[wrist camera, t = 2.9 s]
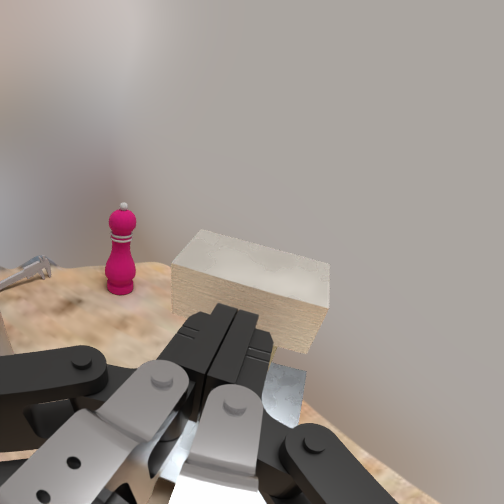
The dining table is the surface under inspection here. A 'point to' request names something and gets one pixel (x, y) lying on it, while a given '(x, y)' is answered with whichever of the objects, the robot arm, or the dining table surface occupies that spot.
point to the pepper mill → (121, 252)
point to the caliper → (28, 272)
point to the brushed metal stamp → (253, 311)
